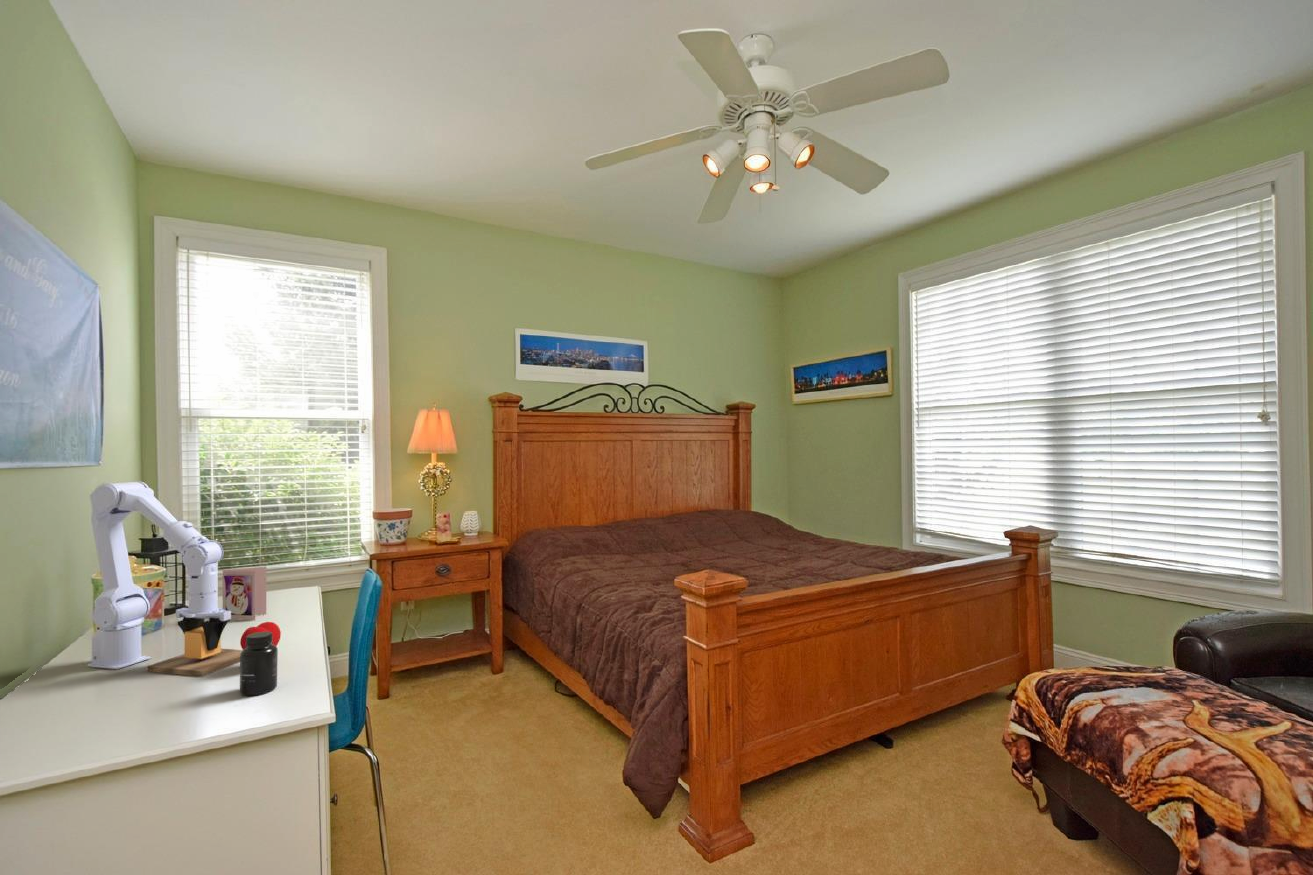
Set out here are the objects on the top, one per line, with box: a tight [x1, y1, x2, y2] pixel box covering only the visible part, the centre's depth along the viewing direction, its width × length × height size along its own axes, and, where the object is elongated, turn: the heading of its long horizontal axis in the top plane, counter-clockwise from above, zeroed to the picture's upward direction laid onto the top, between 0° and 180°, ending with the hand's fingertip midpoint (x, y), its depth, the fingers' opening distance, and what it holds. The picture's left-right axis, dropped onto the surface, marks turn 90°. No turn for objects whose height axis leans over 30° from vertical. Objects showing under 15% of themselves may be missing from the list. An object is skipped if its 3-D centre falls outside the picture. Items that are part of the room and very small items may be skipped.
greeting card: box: [222, 566, 267, 621], centre depth 190 cm, size 11×7×15 cm, turn 81°
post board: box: [147, 648, 243, 677], centre depth 149 cm, size 16×14×6 cm
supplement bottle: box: [239, 632, 279, 697], centre depth 132 cm, size 7×7×12 cm
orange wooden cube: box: [184, 627, 222, 659], centre depth 149 cm, size 5×5×6 cm
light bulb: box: [240, 621, 282, 650], centre depth 147 cm, size 9×7×10 cm
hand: (203, 648), depth 149 cm, fingers closed on orange wooden cube, 5 cm apart
